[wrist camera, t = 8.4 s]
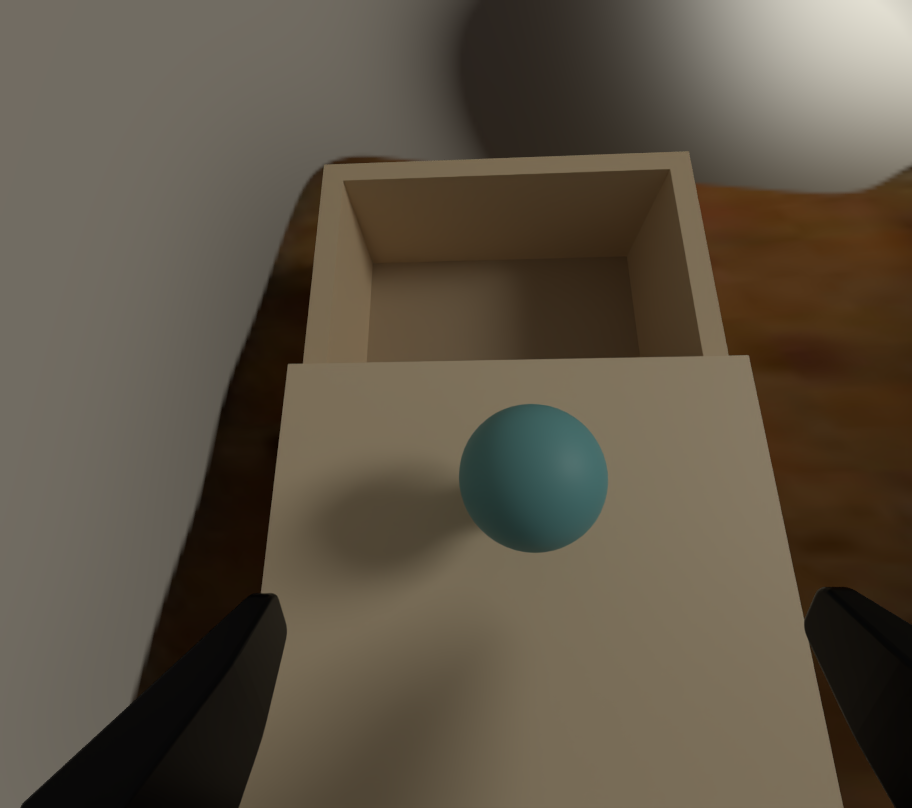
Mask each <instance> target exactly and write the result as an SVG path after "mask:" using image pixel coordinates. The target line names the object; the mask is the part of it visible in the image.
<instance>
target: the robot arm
mask: <svg viewBox="0 0 912 808" xmlns="http://www.w3.org/2000/svg"><path fill="white" fill-rule="evenodd" d="M804 629H805V633H806V636H807V639H808V641H809V643H810V645H811V647H812V649H813V651H814V654H815V656H816V658H817V660H818V662H819V664H820V666H821V668H822V671H823V673H824V675H825V677H826V679H827V681H828V683H829V685H830V687H831V690H832V692H833V694H834V696H835V698H836V700H837V702H838V704H839V707H840V709H841V711H842V713H843V715H844V717H845V719H846V721H847V723H848V725H849V727H850V729H851V731H852V733H853V735H854V737H855V739H856V741H857V743H858V744H859V746H860V748H861V750H862V752H863V753H864V755H865V757H866V759H867V760H868V762H869V764H870V765H871V767H872V769H873V771H874V772H875V774H876V776H877V778H878V779H879V781H880V783H881V784H882V786H883V788H884V790H885V791H886V793H887V795H888V797H889V798H890V800H891V802H892V803H893V805H894V807H895V808H912V625H911V624H909V623H908V622H906V621H904V620H903V619H901V618H899V617H898V616H896V615H894V614H893V613H891V612H889V611H888V610H886V609H884V608H883V607H881V606H880V605H878V604H876V603H875V602H873V601H871V600H870V599H868V598H866V597H865V596H863V595H861V594H860V593H858V592H857V591H855V590H853V589H850V588H847V587H823V588H820V589H819V590H818V591H817V592H816V594H815V596H814V599H813V601H812V603H811V605H810V608H809V610H808V612H807V615H806V617H805V620H804ZM286 637H287V625H286V621H285V618H284V614H283V611H282V608H281V604H280V601H279V598H278V596H277V595H276V594H274V593H255V594H252V595H250V596H248V597H247V598H246V599H245V600H244V601H243V602H241V603H240V604H239V605H238V606H237V607H236V608H235V609H234V610H233V611H232V612H231V613H229V614H228V615H227V616H226V617H225V618H224V619H223V620H222V621H221V622H220V623H219V624H217V625H216V626H215V627H214V628H213V629H212V630H211V631H210V632H209V633H208V634H207V635H205V636H204V637H203V638H202V639H201V640H200V641H199V642H198V643H197V644H196V645H195V646H194V647H192V648H191V649H190V650H189V651H188V652H187V653H186V654H185V655H184V656H183V657H182V658H180V659H179V660H178V661H177V662H176V663H175V664H174V665H173V666H172V667H171V668H170V669H168V670H167V671H166V672H165V673H164V674H163V675H162V676H161V677H160V678H159V679H158V680H156V681H155V682H154V683H153V684H152V685H151V686H150V687H149V688H148V689H147V690H146V691H144V692H143V693H142V694H141V695H140V696H139V697H138V698H137V699H136V700H135V701H134V702H133V703H131V704H130V705H129V706H128V707H127V708H126V709H125V710H124V711H123V712H122V713H121V714H119V715H118V716H117V717H116V718H115V719H114V720H113V721H112V722H111V723H110V724H109V725H107V726H106V727H105V728H104V729H103V730H102V731H101V732H100V733H99V734H98V735H97V736H96V737H94V738H93V739H92V740H91V741H90V742H89V743H88V744H87V745H86V746H85V747H84V748H82V749H81V750H80V751H79V752H78V753H77V754H76V755H75V756H74V757H73V758H72V759H70V760H69V762H67V763H66V764H65V765H64V766H63V767H62V768H61V769H60V770H59V771H57V772H56V773H55V774H54V775H53V776H52V777H51V778H50V779H49V780H48V781H46V782H45V783H44V784H43V785H42V786H41V787H40V788H39V789H38V790H37V791H36V792H35V793H33V794H32V795H31V796H30V797H29V798H28V799H27V800H26V801H25V802H24V803H23V804H22V805H21V808H239V806H240V803H241V800H242V797H243V794H244V791H245V788H246V785H247V782H248V779H249V776H250V773H251V771H252V768H253V765H254V762H255V759H256V756H257V753H258V750H259V747H260V743H261V740H262V737H263V733H264V730H265V726H266V722H267V718H268V714H269V710H270V705H271V701H272V697H273V693H274V689H275V684H276V680H277V676H278V672H279V668H280V663H281V659H282V655H283V651H284V647H285V642H286Z"/></svg>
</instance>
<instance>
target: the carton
mask: <svg viewBox="0 0 912 808" xmlns="http://www.w3.org/2000/svg"><path fill="white" fill-rule="evenodd" d="M690 356H729V355H728V350H727V345H726V340H725V335H724V330H723V324H722V319H721V314H720V309H719V304H718V299H717V294H716V289H715V283H714V278H713V273H712V268H711V263H710V258H709V253H708V248H707V243H706V237H705V232H704V227H703V222H702V217H701V212H700V207H699V202H698V196H697V191H696V186H695V181H694V176H693V171H692V166H691V161H690V156H689V152H688V151H686V152H659V153H632V154H604V155H577V156H550V157H524V158H496V159H469V160H442V161H415V162H387V163H360V164H333V165H324V172H323V182H322V191H321V200H320V209H319V219H318V228H317V237H316V247H315V256H314V265H313V274H312V284H311V293H310V302H309V312H308V321H307V330H306V339H305V349H304V358H303V364H314V363H368V362H422V361H475V360H529V359H583V358H637V357H690Z"/></svg>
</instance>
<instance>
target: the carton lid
mask: <svg viewBox="0 0 912 808" xmlns="http://www.w3.org/2000/svg"><path fill="white" fill-rule="evenodd" d="M261 593H274V594H276V595H277V596H278V598H279V601H280V604H281V608H282V611H283V614H284V618H285V621H286V625H287V637H286V642H285V647H284V651H283V655H282V659H281V663H280V668H279V672H278V676H277V680H276V684H275V689H274V693H273V697H272V701H271V705H270V710H269V714H268V718H267V722H266V726H265V730H264V733H263V737H262V740H261V743H260V747H259V750H258V753H257V756H256V759H255V762H254V765H253V768H252V771H251V773H250V776H249V779H248V782H247V785H246V788H245V791H244V794H243V797H242V800H241V803H240V806H239V808H843V804H842V799H841V794H840V789H839V785H838V780H837V775H836V770H835V765H834V761H833V756H832V751H831V746H830V742H829V737H828V732H827V727H826V723H825V718H824V713H823V708H822V703H821V699H820V694H819V689H818V684H817V680H816V675H815V670H814V665H813V660H812V656H811V651H810V646H809V641H808V639H807V636H806V633H805V629H804V618H803V613H802V608H801V603H800V598H799V594H798V589H797V584H796V579H795V575H794V570H793V565H792V560H791V555H790V551H789V546H788V541H787V536H786V532H785V527H784V522H783V517H782V513H781V508H780V503H779V498H778V493H777V489H776V484H775V479H774V474H773V470H772V465H771V460H770V455H769V450H768V446H767V441H766V436H765V431H764V427H763V422H762V417H761V412H760V408H759V403H758V398H757V393H756V388H755V384H754V379H753V374H752V369H751V365H750V360H749V355H744V356H690V357H637V358H583V359H529V360H475V361H422V362H368V363H314V364H288V369H287V377H286V386H285V394H284V403H283V411H282V419H281V428H280V436H279V445H278V453H277V462H276V470H275V479H274V487H273V496H272V504H271V513H270V521H269V530H268V538H267V546H266V555H265V563H264V572H263V580H262V589H261Z"/></svg>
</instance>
